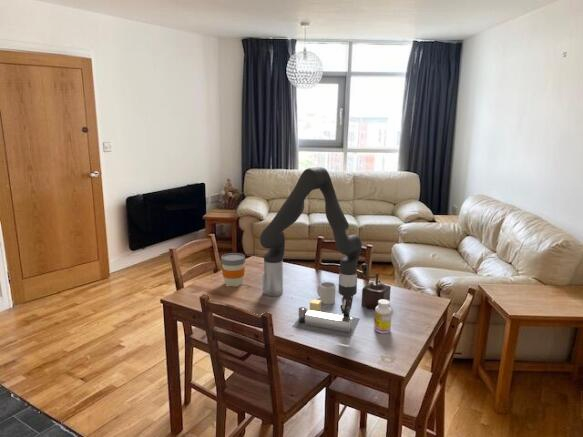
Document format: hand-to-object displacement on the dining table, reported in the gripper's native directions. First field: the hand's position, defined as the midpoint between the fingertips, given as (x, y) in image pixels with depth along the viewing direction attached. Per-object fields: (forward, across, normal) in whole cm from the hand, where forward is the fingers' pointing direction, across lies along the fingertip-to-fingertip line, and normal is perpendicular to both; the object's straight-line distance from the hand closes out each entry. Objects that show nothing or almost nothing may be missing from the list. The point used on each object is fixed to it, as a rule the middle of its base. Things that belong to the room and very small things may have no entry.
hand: (346, 320), depth 180 cm
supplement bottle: (+2, -2, +15) cm, 15 cm away
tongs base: (+2, +5, -8) cm, 10 cm away
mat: (+2, +2, -8) cm, 9 cm away
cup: (+2, -20, -15) cm, 25 cm away
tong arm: (+1, +3, -7) cm, 8 cm away
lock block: (+2, -4, -15) cm, 16 cm away
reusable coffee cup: (+2, -23, -66) cm, 70 cm away
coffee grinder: (+2, -25, +6) cm, 26 cm away
